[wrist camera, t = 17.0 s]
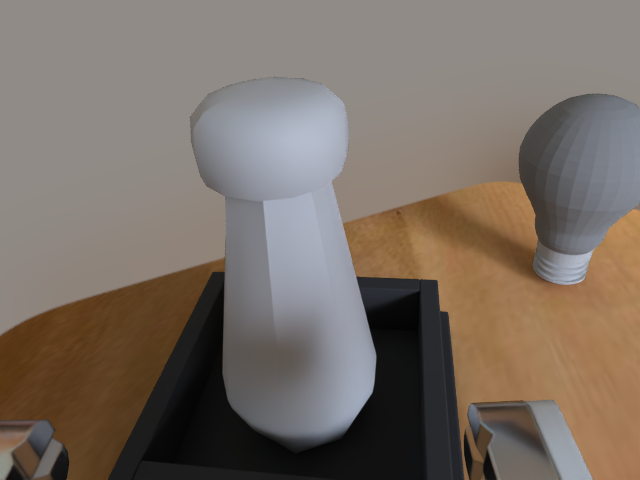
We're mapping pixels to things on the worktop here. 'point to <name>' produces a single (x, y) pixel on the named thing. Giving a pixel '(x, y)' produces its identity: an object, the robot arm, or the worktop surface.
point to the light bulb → (579, 179)
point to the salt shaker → (286, 259)
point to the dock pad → (328, 459)
